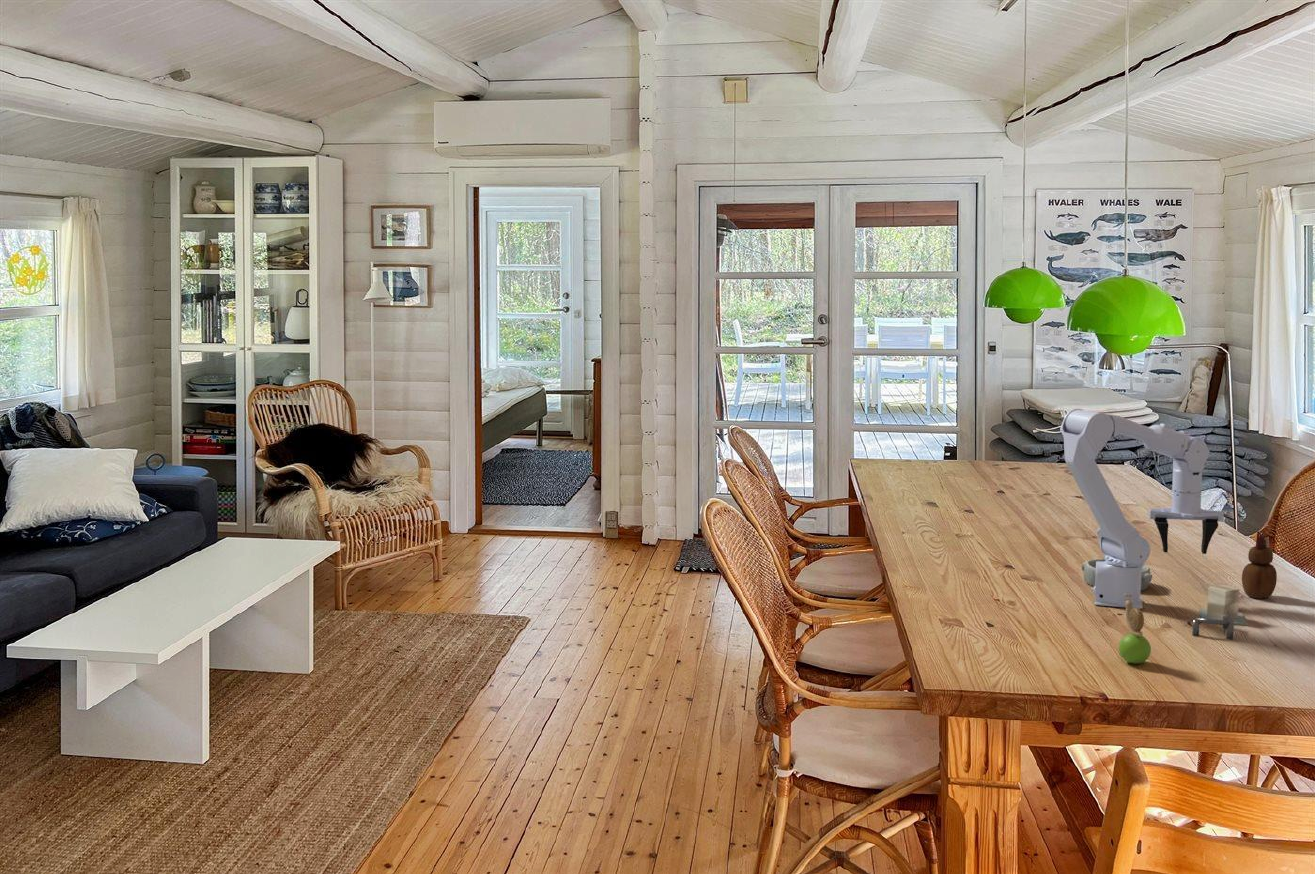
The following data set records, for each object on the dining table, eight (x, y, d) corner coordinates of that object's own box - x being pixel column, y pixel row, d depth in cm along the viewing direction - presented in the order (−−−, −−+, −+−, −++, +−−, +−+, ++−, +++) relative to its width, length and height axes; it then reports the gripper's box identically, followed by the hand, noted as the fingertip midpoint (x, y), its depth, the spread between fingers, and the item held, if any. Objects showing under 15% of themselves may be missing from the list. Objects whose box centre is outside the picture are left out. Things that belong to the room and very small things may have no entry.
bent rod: (1192, 635, 217) (1193, 617, 217) (1189, 623, 225) (1190, 606, 224) (1233, 639, 214) (1234, 621, 214) (1228, 627, 222) (1229, 609, 222)
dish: (1159, 593, 248) (1160, 571, 247) (1096, 593, 248) (1097, 572, 247) (1133, 576, 262) (1134, 556, 261) (1074, 577, 262) (1075, 556, 262)
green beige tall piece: (1139, 655, 206) (1142, 593, 204) (1155, 667, 199) (1158, 602, 198) (1110, 656, 206) (1113, 593, 204) (1125, 668, 199) (1128, 603, 198)
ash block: (1223, 620, 226) (1225, 591, 225) (1207, 614, 229) (1208, 586, 228) (1237, 617, 227) (1239, 589, 226) (1220, 612, 231) (1222, 584, 230)
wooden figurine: (1255, 601, 240) (1260, 533, 238) (1235, 594, 245) (1239, 528, 243) (1281, 598, 241) (1285, 531, 239) (1260, 592, 247) (1264, 526, 245)
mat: (1202, 621, 226) (1202, 619, 226) (1198, 610, 233) (1199, 609, 233) (1246, 625, 223) (1246, 623, 223) (1241, 614, 230) (1241, 612, 230)
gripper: (1152, 493, 238) (1150, 554, 240) (1227, 495, 234) (1224, 558, 235) (1148, 487, 245) (1146, 547, 247) (1221, 489, 240) (1218, 550, 242)
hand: (1184, 552), depth 241 cm, fingers open, 7 cm apart
